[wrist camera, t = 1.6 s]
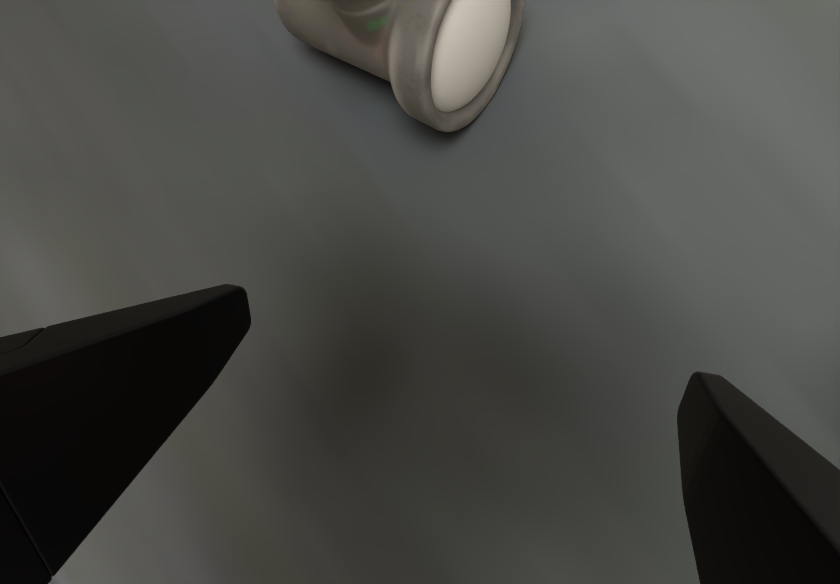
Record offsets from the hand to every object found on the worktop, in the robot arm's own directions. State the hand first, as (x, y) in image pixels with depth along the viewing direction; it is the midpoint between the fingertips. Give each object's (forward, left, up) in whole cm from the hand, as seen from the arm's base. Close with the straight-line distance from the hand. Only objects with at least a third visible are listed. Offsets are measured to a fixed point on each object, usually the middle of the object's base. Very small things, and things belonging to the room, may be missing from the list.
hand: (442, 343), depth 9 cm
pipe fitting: (+17, +1, -15) cm, 23 cm away
